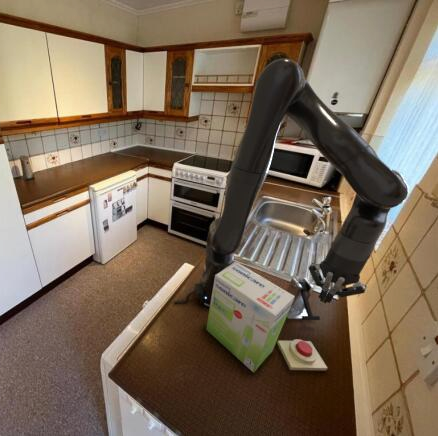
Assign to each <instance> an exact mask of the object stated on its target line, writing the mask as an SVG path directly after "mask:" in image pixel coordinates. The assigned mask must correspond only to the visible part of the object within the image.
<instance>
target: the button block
mask: <svg viewBox="0 0 438 436" xmlns="http://www.w3.org/2000/svg"><path fill="white" fill-rule="evenodd" d="M300 341H304V342H306V343H308V344H309V345H310V346H311V347H312V353H311V354H310V356H308V357H305V356H302V355H301V354H300V353H299V352H298V351H297V349H296V346H297V344H298V342H300ZM276 344H277V346H278V349H279V350H280V352H281V355H282V356H283V359H284V361H285V363H286V364H287V366H288V369H289V370H290V371H327V370H328V366H327V365H326V363H325V361H324V360H323V358H322V356H321V355H320V353H319V352H318V351H317V349H316V347H315V346H314V344H313V343H312V341H311V340H302V339H293V340H277V341H276Z"/></svg>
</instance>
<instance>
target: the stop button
mask: <svg viewBox="0 0 438 436" xmlns="http://www.w3.org/2000/svg"><path fill="white" fill-rule="evenodd" d="M304 341H305V340H303V341H300V342H298V344H297V346H296V349H297V351H298V352H299V353H300V354H301V355H302V356H305V357H308V356H310V354H311V353H312V347H311V346H310V345H309V344H308V343H306V342H304Z"/></svg>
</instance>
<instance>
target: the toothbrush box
mask: <svg viewBox="0 0 438 436" xmlns="http://www.w3.org/2000/svg"><path fill="white" fill-rule="evenodd" d="M294 297H295V296H294V295H292V294H290V293H288V292H287V290H284V288H281V287H280V286H278V285H276V284H275V283H273V282H271V281H270V280H269V279H266V278H265V277H263V276H262V275H259V274H258V273H256V272H255V271H254V270H251V269H249V268H248V267H246V266H244V265H242V264H241V263H239V262H238V261H234V263H233V264H231V265H230V266H228V267H227V268H225V269H224V270H222V271H221V272H219V273H218V274H216V275H215V279H214V286H213V291H212V297H211V303H210V308H209V310H208V316H207V322H206V328H205V330H206V331H207V332H208V333H209V334H210V335H212V336H213V338H215V339H216V340H217V341H218V342H219V343H220V344H221V345H223V347H224V348H226V349H227V350H228V351H229V352H230V353H231V354H232V355H233V356H234V357H236V358H237V359H238V360H239V361H240V362H241V363H242V364H243V365H244V366H245V367H246V368H248V369H249V370H250V371H251V372H252V373H253V374H254V373H255V372H256V371H257V370H258V369H259V367H260V366H261V365H262V364H263V363H264V362H265V361H266V359H268V357H269V356H270V355H271V353H273V351H274V348H275V346H276V344H277V342H278V339H279V336H280V334H281V331H282V329H283V326H284V325H285V322H286V319H287V315H288V312H289V310H290V307H291V305H292V302H293V300H294Z"/></svg>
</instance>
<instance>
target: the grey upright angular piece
mask: <svg viewBox="0 0 438 436" xmlns="http://www.w3.org/2000/svg"><path fill="white" fill-rule="evenodd" d="M302 281H303V282H305V283H306V286H307V289H308V290H306V291H305V292H306V296H307V299H308V300H309V299H310V297H311V295H312V293H313V291H314V289H315V286H314V285H313V284H312V283H311V281H310V280H309V279H308V278H307V277H304V278H302ZM298 282H299V281H298V280H297V279H296V278H295V277H291V280H290V283H289V284H288V287H287V290H286V291H287V292H288V293H290V294H292V295H294V296H295V297H294V300H293V302H292V305H291V307H290V310H289V312H288V315H287V317H286V319H288V320H289V319H290V320H291V319H293V320H295V319H296V320H303V319H302V316H308V315H307V312H306V309H305V305H304V302H303V299H302V296H301V292H300V291H301V288H302V287H301V285H300V284H299V283H298Z"/></svg>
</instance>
